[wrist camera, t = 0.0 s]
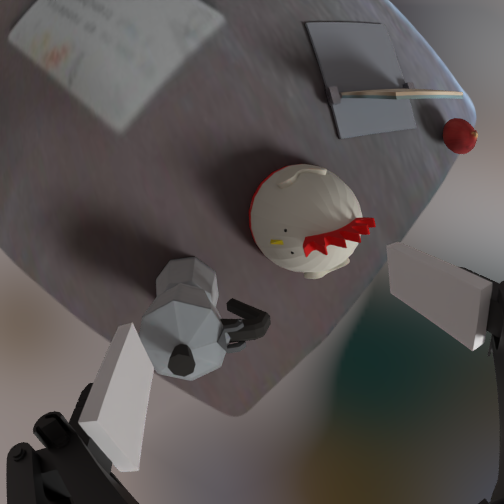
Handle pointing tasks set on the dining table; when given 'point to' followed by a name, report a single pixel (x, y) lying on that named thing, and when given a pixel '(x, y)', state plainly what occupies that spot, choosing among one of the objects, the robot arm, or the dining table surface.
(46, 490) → the robot arm
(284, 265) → the kitchen timer
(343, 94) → the flap
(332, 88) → the hinge blocks
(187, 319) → the coffee maker
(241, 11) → the dining table surface
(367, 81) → the base plate
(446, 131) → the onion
